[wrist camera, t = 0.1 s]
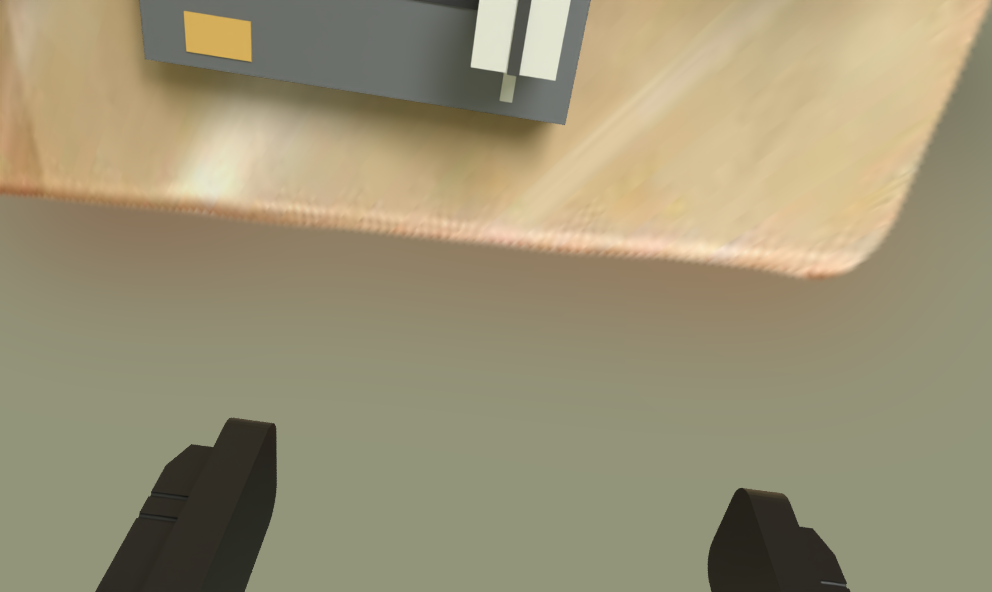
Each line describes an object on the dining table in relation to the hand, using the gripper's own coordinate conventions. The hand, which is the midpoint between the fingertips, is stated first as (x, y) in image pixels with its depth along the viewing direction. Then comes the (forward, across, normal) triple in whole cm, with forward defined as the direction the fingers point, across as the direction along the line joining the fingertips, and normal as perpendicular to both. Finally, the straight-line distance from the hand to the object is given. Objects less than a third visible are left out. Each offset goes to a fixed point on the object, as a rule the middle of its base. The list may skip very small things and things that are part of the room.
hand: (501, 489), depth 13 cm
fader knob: (+26, 0, -3) cm, 26 cm away
